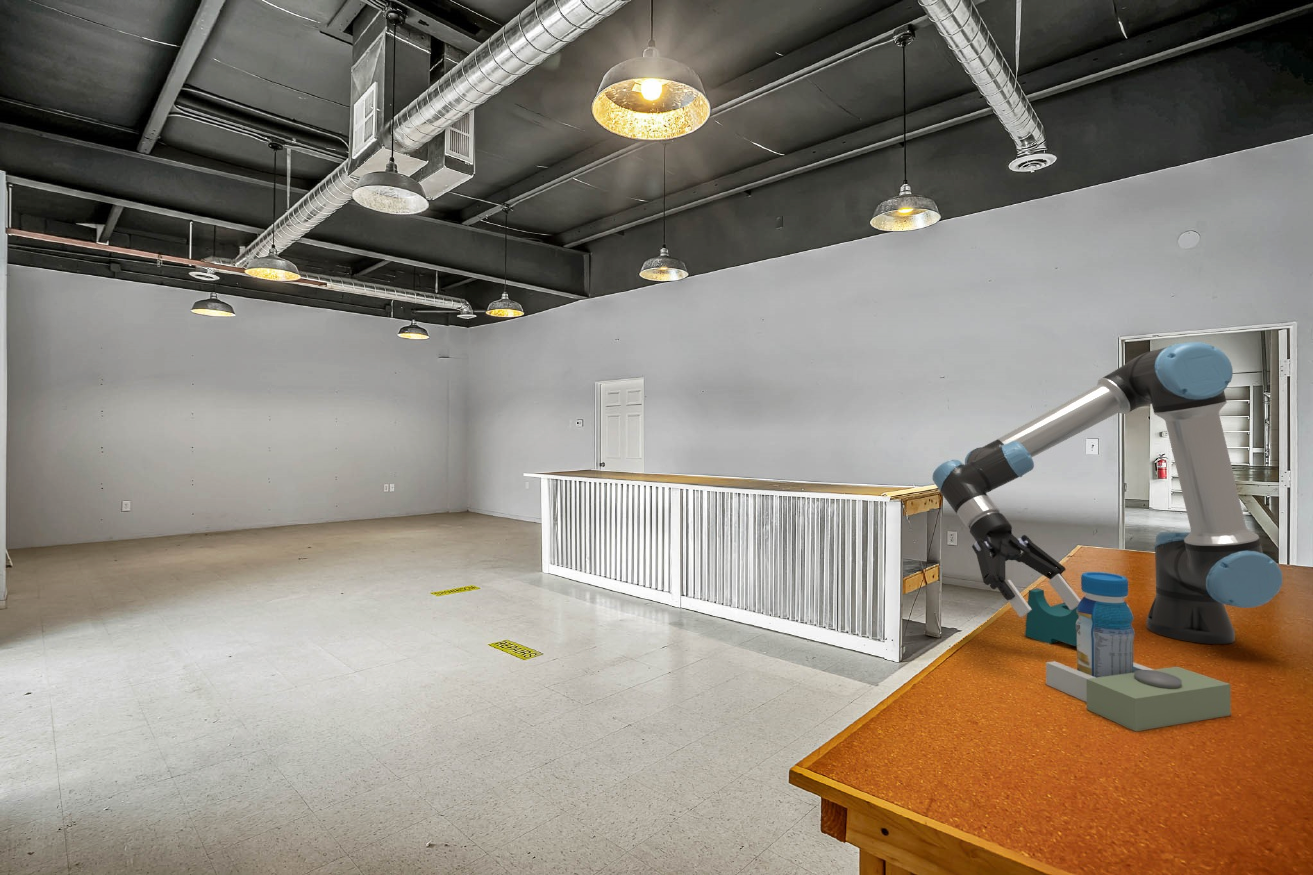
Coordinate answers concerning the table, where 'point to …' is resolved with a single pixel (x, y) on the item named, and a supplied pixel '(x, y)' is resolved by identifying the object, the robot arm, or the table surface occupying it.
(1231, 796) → the table surface
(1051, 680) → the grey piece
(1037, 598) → the teal l-shaped bracket
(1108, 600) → the blue capped bottle
